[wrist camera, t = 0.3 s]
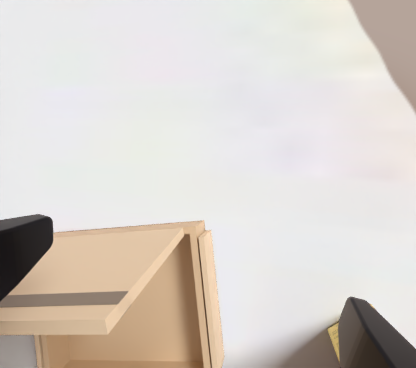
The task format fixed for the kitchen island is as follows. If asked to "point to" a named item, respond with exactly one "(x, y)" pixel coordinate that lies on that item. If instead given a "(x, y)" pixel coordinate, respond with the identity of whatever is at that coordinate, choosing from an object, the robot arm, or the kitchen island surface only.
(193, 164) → the kitchen island surface
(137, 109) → the kitchen island surface
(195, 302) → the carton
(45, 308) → the flap
